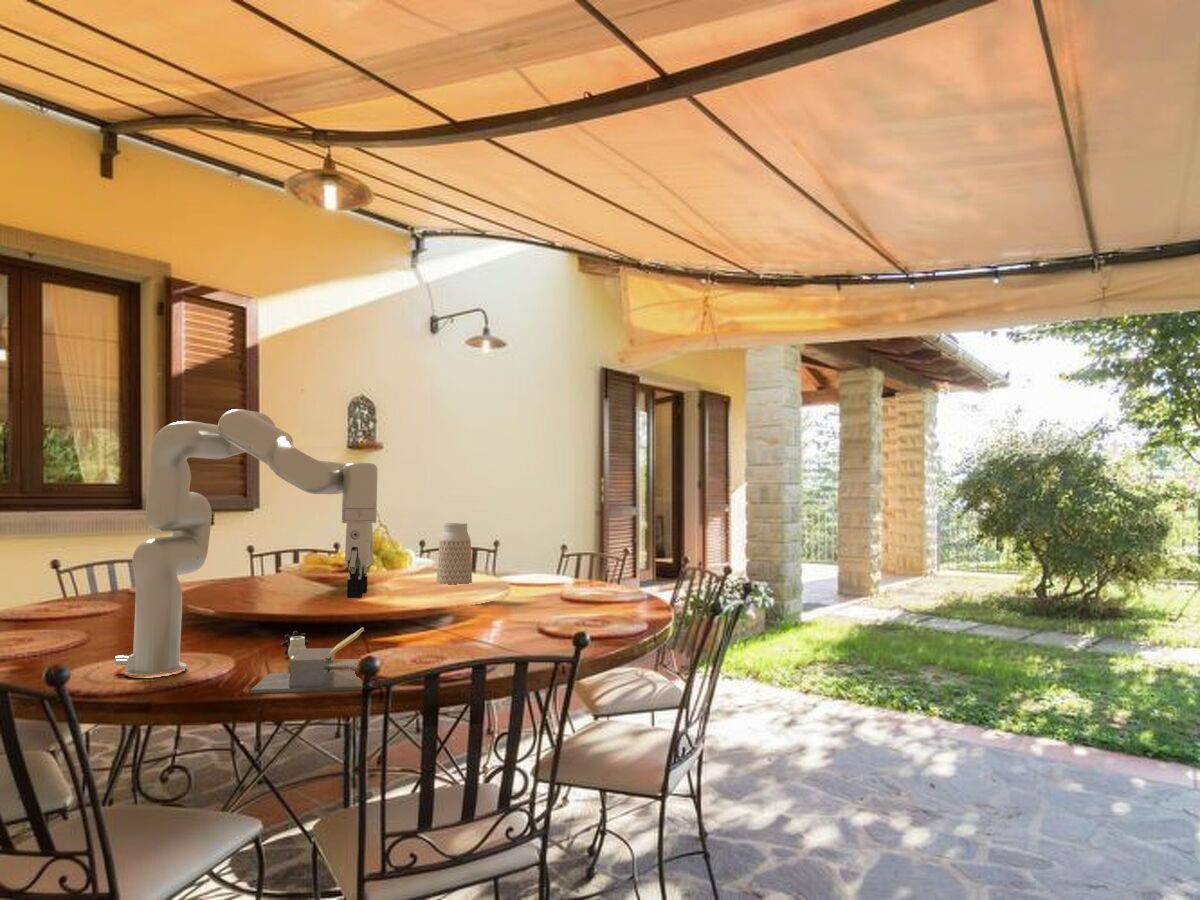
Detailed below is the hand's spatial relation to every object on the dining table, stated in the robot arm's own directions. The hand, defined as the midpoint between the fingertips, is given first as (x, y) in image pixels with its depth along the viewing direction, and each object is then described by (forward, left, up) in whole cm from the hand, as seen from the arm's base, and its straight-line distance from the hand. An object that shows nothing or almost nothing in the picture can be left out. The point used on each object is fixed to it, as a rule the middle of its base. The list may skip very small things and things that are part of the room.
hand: (357, 594), depth 166 cm
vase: (+18, +120, -20) cm, 123 cm away
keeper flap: (-2, 0, -11) cm, 11 cm away
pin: (-7, 0, -18) cm, 19 cm away
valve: (-18, +23, -20) cm, 36 cm away
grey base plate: (-9, 0, -20) cm, 22 cm away
